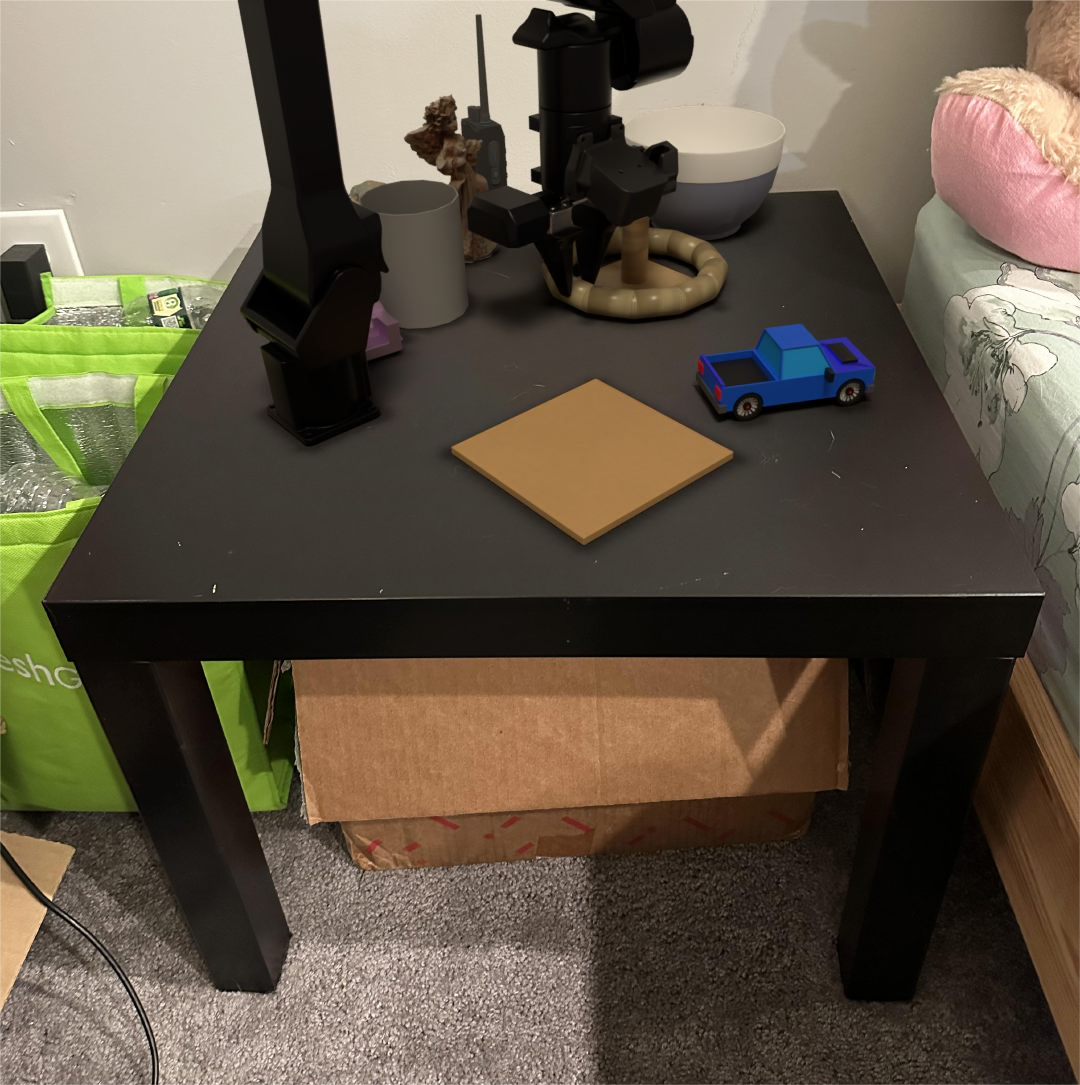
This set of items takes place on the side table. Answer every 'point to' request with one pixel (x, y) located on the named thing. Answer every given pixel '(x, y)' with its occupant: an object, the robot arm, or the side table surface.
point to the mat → (591, 458)
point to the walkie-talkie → (486, 127)
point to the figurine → (453, 165)
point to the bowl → (712, 165)
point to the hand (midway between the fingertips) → (576, 291)
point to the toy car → (785, 372)
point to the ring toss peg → (637, 263)
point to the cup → (420, 251)
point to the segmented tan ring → (653, 299)
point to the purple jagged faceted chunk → (382, 334)
